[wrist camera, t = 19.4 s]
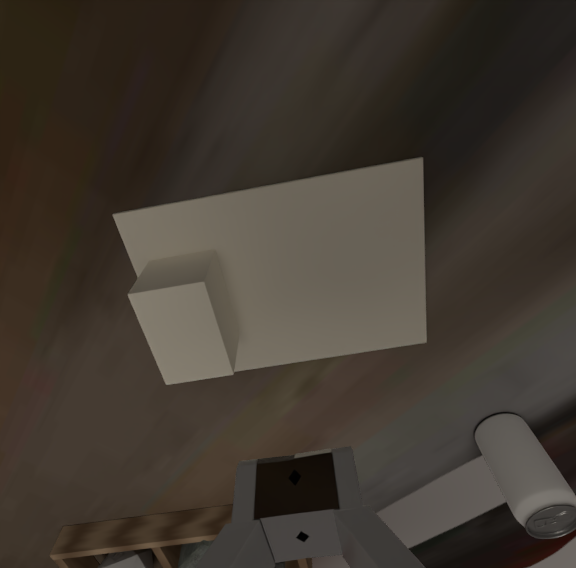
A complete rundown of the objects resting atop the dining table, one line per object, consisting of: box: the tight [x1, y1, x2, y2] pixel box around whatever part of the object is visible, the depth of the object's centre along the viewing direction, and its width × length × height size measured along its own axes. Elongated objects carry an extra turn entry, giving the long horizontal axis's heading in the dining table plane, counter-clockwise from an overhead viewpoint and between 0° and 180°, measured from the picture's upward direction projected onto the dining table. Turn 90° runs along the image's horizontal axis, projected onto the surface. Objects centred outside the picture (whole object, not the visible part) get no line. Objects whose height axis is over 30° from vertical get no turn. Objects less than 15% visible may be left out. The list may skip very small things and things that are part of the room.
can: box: [475, 413, 576, 539], centre depth 47 cm, size 6×6×12 cm
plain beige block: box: [127, 249, 240, 385], centre depth 39 cm, size 6×10×6 cm, turn 10°
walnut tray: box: [50, 504, 312, 568], centre depth 61 cm, size 35×16×4 cm, turn 100°
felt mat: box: [113, 157, 427, 372], centre depth 41 cm, size 28×20×1 cm
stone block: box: [178, 540, 285, 568], centre depth 60 cm, size 9×14×5 cm, turn 57°
